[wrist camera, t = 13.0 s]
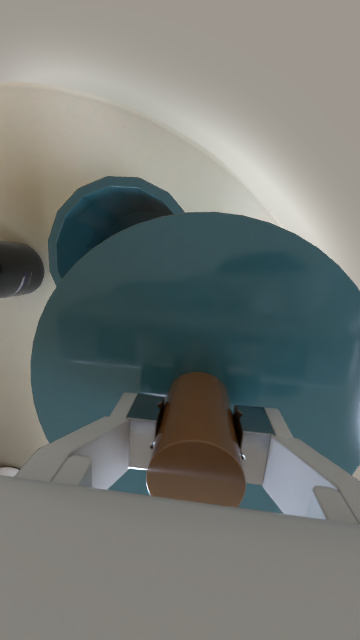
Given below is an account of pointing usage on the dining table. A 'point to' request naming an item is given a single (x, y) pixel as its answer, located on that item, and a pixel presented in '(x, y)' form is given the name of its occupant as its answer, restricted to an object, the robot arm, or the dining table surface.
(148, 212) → the storage jar
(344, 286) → the jar lid
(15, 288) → the supplement bottle
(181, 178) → the dining table surface
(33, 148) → the dining table surface
